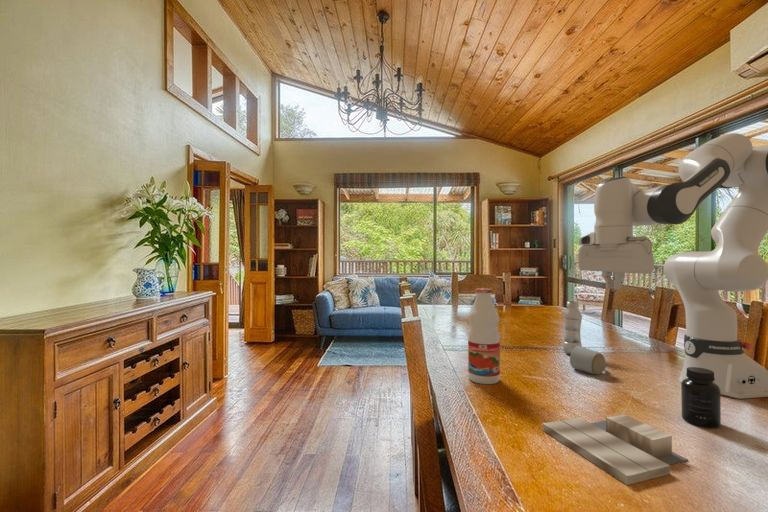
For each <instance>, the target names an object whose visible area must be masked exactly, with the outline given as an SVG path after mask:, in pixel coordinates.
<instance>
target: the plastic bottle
mask: <svg viewBox="0 0 768 512" xmlns="http://www.w3.org/2000/svg"><path fill="white" fill-rule="evenodd" d="M566 307H567V308H566V309H565V310H564V312H563V314H562V317H563V325H564V336H563V337H564V338H563V343H562V350H563V352H564V353H566V354H568V355H571V352H572V350H573V349H574V348H575V347H576V346H581V347H583V346H582V341H581V340H582V338H581V327H582V319H583V315H582V314H583V313H581V311H580V310H579V309H578V307H579V305H578V301H573V300H569V301H566Z"/></svg>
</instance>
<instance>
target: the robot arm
mask: <svg viewBox="0 0 768 512" xmlns="http://www.w3.org/2000/svg"><path fill="white" fill-rule="evenodd" d="M677 168H678V169H677V170H678V175H679V178H680V179H681V181H682V182H673V183H669V184H665V185H662V186H657V187H651V188H648V189H644V188H641V187H638V186H637V185H635V184H634V183H633V182H632V181H631V179H630V177H629V176H618V177H614V178H610V179H606V180H602V181H600V182H599V183H598V184H597V186H596V189H595V193H594V200H593V201H594V202H593V203H594V204H593V207H594V208H593V212H594V216H595V223H594V228H593V229H594V231H592V232H590V233H587V234H585V235H583V236H581V237H579V239H578V244H579V245H580V247H579V249H578V254H577V257H578V259H577V261H578V262H577V263H578V265H577V266H578V268H579V270H580V271H586V272H587V271H588V272H590V271H591V272H601V276H602V278H603V280H604V282H605V288H606V289H608V290H620V289H621V284H622V282H623V280H624V278H625V277H626V276H625V275H626V274H641V275H642V274H644V275H645V274H652V273H653V272H654V270H655V260H654V259H655V257H654V253H653V242H652V240H651V239H649V238H647V237H646V236H633V235H634V233H633V232H634V230H633V229H634V227H641V226H657V225H680V224H683V223H685V222H687V221H688V220H689V219H691V217H692V216H693V215H694V214H695V212H696V211H697V209H698V207H699V206H700V204H702V202H703V201H705V200H706V199H707V198H708V197H709V196H710V195H711V194H712V193H713V192H715V191H716V190H718V189H727V190H728V189H732V188H738V191H737V194H736V196H735V197H734V198H733V199H732V200H731V201H730V203H728V205H727V206H726V208H725V209H724V210H723V212H722V213H721V215H720V216H719V217H718V219H717V220H716V222H715V224H714V225H713V227H712V228H711V230H710V235H711V238H712V240H713V241H714V242H715V244H717V246H716V247H715V248H714V249H713V250H709V251H684V252H679V253H675V254H672V255H670V256H669V257H668V258H667V259H666V260H665V262H664V263H663V264H664V265H663V273H664V276H665V278H666V279H667V281H669V282H670V283H671V284H672V285H673V287H675V288H676V290H677V292H678V294H679V296H680V298H681V300H682V302H683V306H684V307H683V308H684V312H685V334H684V337H683V348H684V352H685V354H684V359H683V360H684V361H683V365H682V370H681V373H680V376H679V378H678V381H679V383H682V381H683V380H684V379H686V378H688V377H687V376H686V374H687V368H688V367H698V368H704V369H708V370H711V371H713V372H714V378H715V381H713V382H714V383H715V384H717V385H718V386H719V388H720V394H721V395H722V396H726V397H731V398H734V399H741V400H742V399H753V398H754V399H755V398H764V397H765V398H768V369H766V367H764V365H763V366H762V365H761V364H759V363H758V362H757V361H756V360H754V359H753V358H751V357H750V356H748V355H747V354H746V353H745V351H744V349H746V350H748V351H752V350H753V349H754V348H755V347H754V346H755V345H754V344H753V343H752V342H748V341H746V340H745V341H740V340H739V339H738V315H737V312H736V310H735V309H734V308H733V307H732V306H730V305H729V304H727V303H726V302H725V301H724V300H723V299H722V297H721V295H720V293H719V291H722V292H723V291H724V292H735V293H737V292H738V293H739V292H748V291H756V290H759V289H760V288H762V287H764V286H765V284H766V283H767V282H768V263H767V262H766V260H765V259H764V258H763V257H761V255H760V254H759V247H760V245H761V243H762V241H764V238H765V236H766V235H767V233H768V144H767V145H766V144H765V145H759V146H754V147H753V143H752V140H750V138H748V137H747V136H745V134H744V135H743V134H742V133H737V132H732V133H726V134H723V135H720V136H717V137H716V138H715V137H714V138H712V139H711V140H708V141H707V142H704V143H702V144H701V145H699V146H698V147H696V148H695V149H693V150H692V151H690V152H689V153H688V154H686V155H685V156H684V157H683V158H682V159H681V161H680V162H679V164H678V167H677ZM612 276H614V277H615V278H614V281H613V278H612Z"/></svg>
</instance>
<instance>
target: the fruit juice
mask: <svg viewBox="0 0 768 512" xmlns="http://www.w3.org/2000/svg"><path fill="white" fill-rule="evenodd" d="M474 292H475V293H474V294H475V298H474V299H475V300H474V302H473V305H472V308H471V309H470V311H469V313H468V323H469V329H468V332H467V333H468V334H467V340H468V342H467V347H468V348H467V352H468V353H467V359H468V362H467V364H468V365H467V371H468V375H467V376H468V379H469V380H470V381H471V382H473V383H476V384H481V385H494V384H498V383H499V382H500V380H501V379H500V378H501V365H500V364H501V359H500V358H501V349H500V347H501V345H500V344H501V337H500V336H501V335H500V331H499V329H498V328H499V327H498V326H499V321H500V316H499V313H498V311H497V309H496V307H495V305H494V302H493V298H492V294H493V289H492V288H487V287H486V288H485V287H484V288H483V287H478V288H475V291H474Z"/></svg>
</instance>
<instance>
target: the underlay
mask: <svg viewBox="0 0 768 512" xmlns="http://www.w3.org/2000/svg"><path fill="white" fill-rule="evenodd" d="M590 423H591V424H593V425H594V426H596V427H598V428H600V429H602V430H604V431H606V419H605V420H602V421H601V420H600V421H595V422H590ZM657 459H659V460H661V461H662V462H664V463H666V464H668V465H670V466H671V465H675V464H676V465H677V464H679V463H683V462H686V461H687V462H688V461H689V459H688V458H686V457H684V456H682V455H679V454H677V453H676V452H674V451H672V454H669V455H665V456H661V457H657Z"/></svg>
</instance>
